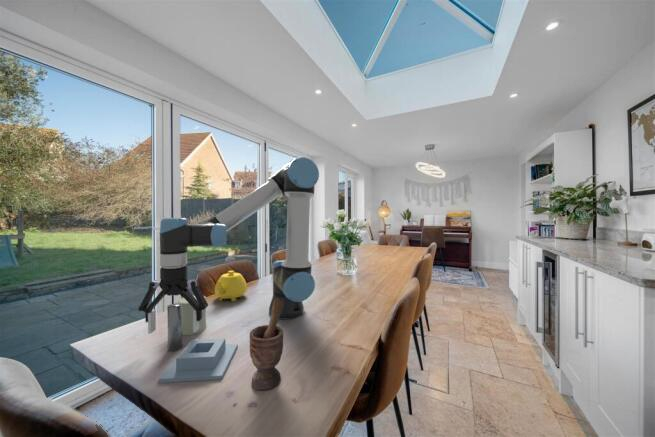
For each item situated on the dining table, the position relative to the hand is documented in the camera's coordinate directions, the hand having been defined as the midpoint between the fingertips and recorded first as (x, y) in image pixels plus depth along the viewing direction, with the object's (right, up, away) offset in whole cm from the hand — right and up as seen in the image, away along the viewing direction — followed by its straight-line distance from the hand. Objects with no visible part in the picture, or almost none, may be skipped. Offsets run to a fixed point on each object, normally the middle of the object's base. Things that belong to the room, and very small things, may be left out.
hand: (174, 331), depth 81 cm
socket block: (+13, -6, -8) cm, 16 cm away
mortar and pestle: (+34, -6, -14) cm, 37 cm away
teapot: (0, -4, +45) cm, 46 cm away
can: (-1, -5, +13) cm, 14 cm away
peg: (0, -6, 0) cm, 6 cm away
